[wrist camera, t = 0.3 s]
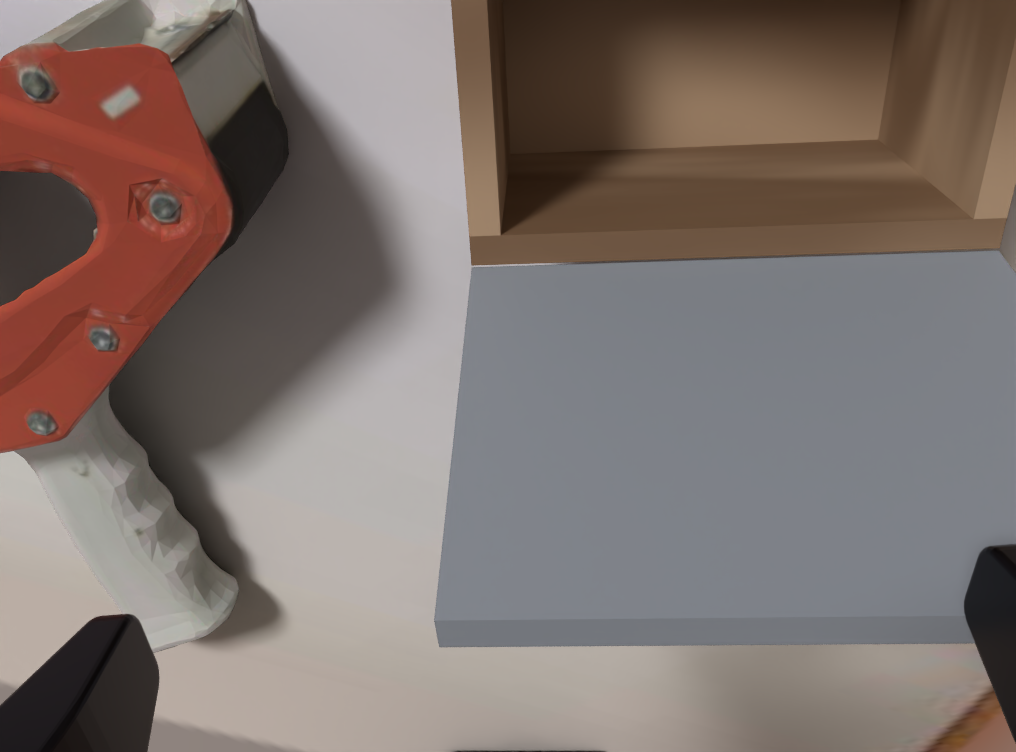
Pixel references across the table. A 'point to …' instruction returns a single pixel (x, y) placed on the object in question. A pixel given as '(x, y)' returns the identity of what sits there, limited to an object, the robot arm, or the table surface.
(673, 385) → the lid
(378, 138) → the table surface
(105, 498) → the tape dispenser
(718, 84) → the box
